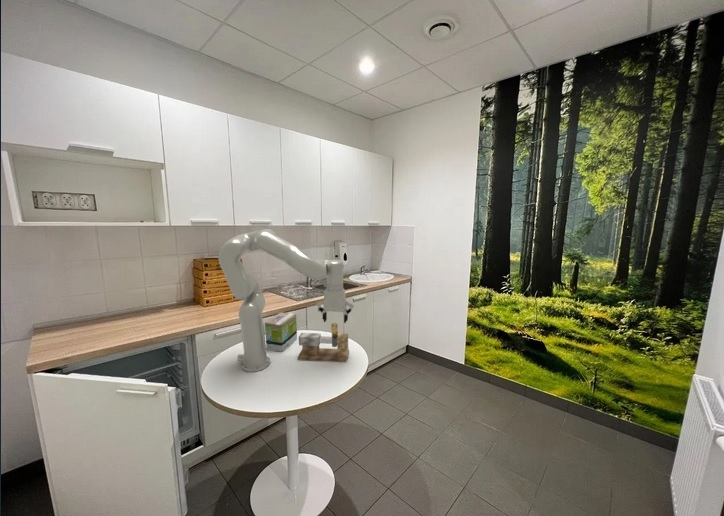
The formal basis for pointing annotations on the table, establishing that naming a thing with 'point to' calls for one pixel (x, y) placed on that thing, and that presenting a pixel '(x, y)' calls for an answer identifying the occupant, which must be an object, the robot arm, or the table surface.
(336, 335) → the brass knob sliding bolt
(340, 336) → the socket block
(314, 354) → the base
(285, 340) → the tea box
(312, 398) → the table surface
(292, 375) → the table surface
